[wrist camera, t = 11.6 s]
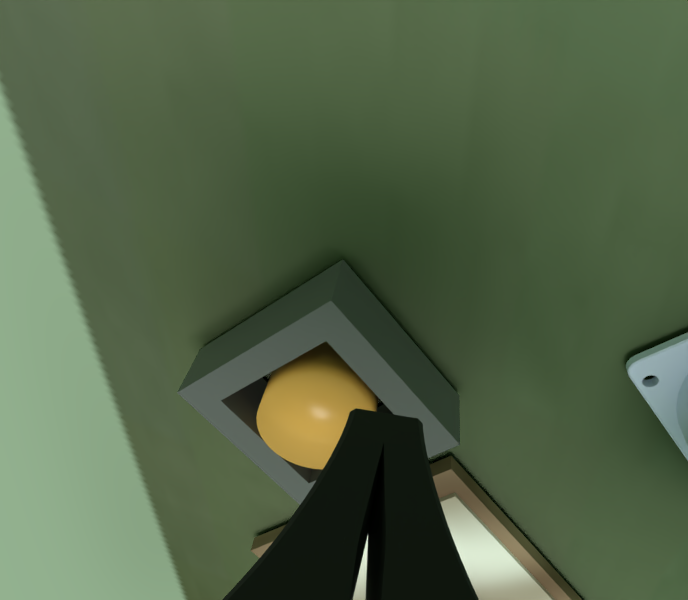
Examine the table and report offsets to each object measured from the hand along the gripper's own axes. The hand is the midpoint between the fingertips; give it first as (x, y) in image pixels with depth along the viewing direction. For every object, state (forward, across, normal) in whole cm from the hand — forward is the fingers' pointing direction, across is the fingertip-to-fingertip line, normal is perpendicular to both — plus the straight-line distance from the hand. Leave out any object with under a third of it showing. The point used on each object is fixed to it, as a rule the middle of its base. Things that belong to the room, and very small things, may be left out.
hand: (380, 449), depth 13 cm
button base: (+9, +2, +6) cm, 12 cm away
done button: (+9, +2, +6) cm, 11 cm away
